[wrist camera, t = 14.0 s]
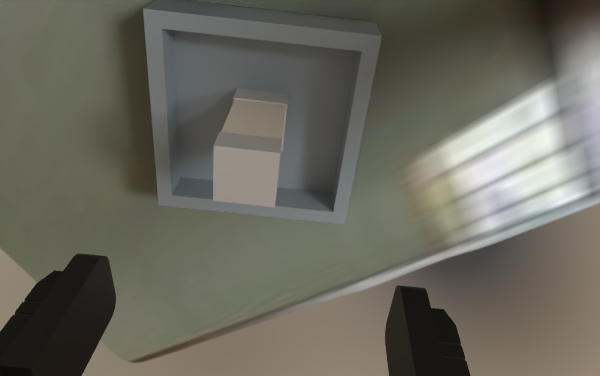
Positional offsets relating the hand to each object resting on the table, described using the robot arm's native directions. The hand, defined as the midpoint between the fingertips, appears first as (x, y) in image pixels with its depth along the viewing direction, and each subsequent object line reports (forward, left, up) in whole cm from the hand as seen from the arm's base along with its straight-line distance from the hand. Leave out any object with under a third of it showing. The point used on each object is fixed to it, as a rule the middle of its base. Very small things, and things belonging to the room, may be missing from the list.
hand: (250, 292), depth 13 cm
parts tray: (+2, +6, -27) cm, 28 cm away
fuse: (+2, +7, -26) cm, 27 cm away
